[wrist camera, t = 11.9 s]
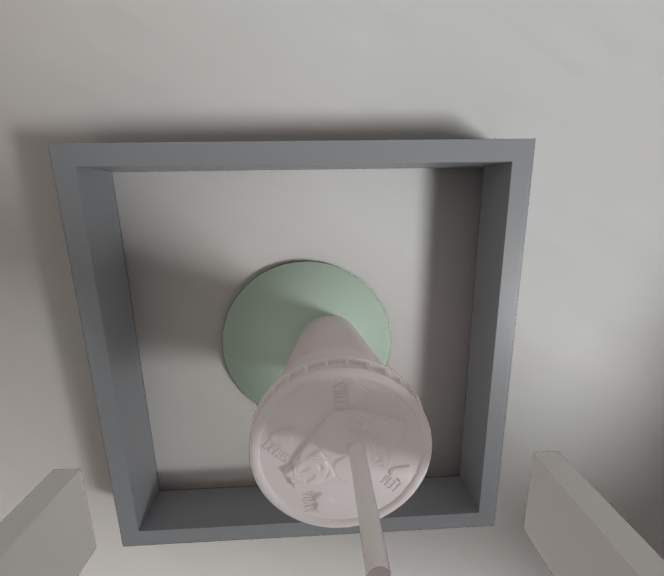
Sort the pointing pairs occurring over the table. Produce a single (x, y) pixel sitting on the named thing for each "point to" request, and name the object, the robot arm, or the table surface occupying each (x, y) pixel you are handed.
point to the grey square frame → (287, 326)
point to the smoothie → (340, 437)
